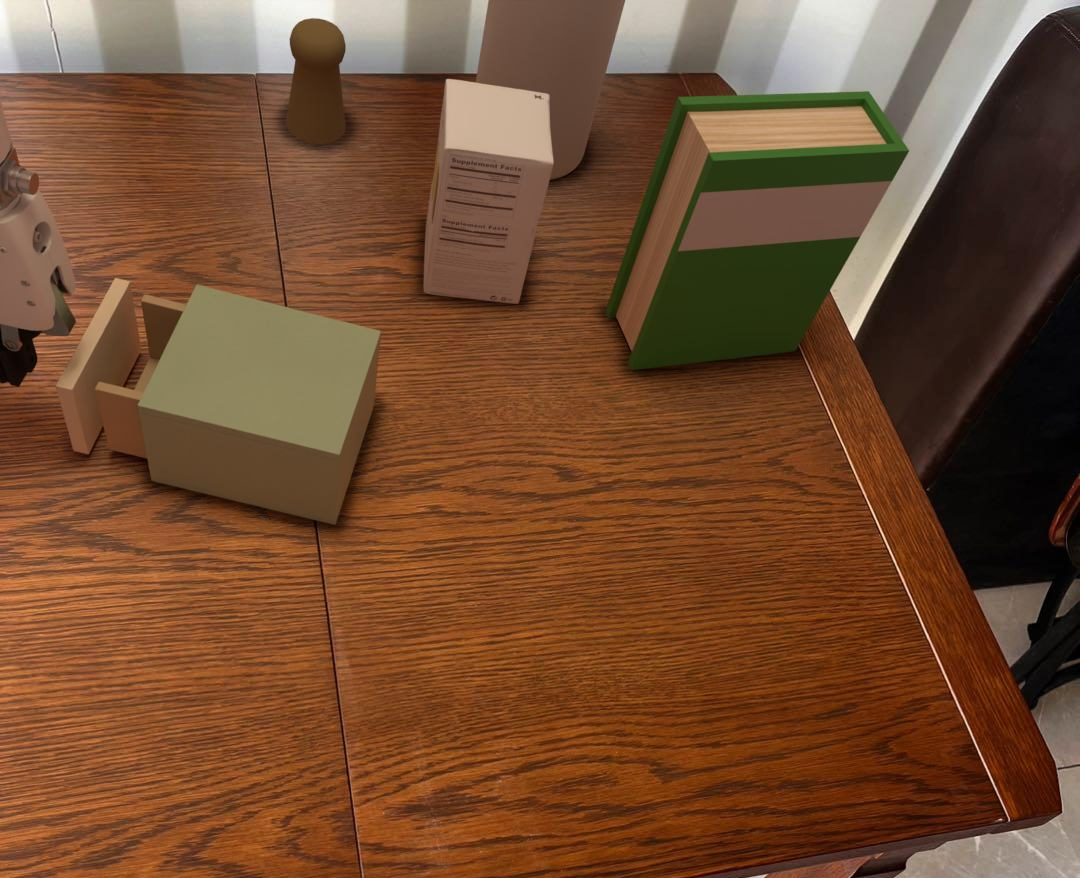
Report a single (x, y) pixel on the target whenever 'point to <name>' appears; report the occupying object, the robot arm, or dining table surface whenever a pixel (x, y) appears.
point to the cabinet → (260, 404)
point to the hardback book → (749, 222)
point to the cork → (316, 82)
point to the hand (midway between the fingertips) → (16, 370)
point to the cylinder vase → (553, 62)
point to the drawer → (114, 370)
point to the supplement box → (486, 190)
